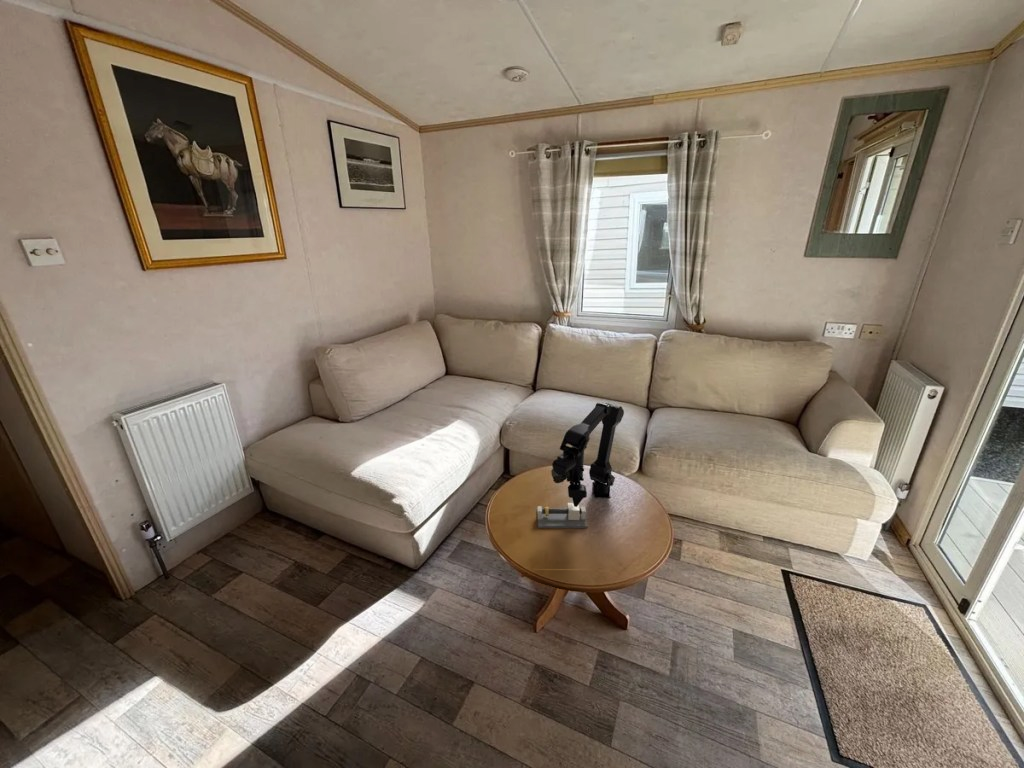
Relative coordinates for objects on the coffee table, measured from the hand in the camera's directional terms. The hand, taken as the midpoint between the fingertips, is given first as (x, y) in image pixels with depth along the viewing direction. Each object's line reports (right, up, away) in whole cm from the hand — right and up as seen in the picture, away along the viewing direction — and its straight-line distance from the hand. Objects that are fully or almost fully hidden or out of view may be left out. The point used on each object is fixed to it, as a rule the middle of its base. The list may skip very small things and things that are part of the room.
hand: (574, 498), depth 148 cm
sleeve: (0, -7, +3) cm, 8 cm away
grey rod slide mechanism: (-4, -9, +3) cm, 10 cm away
